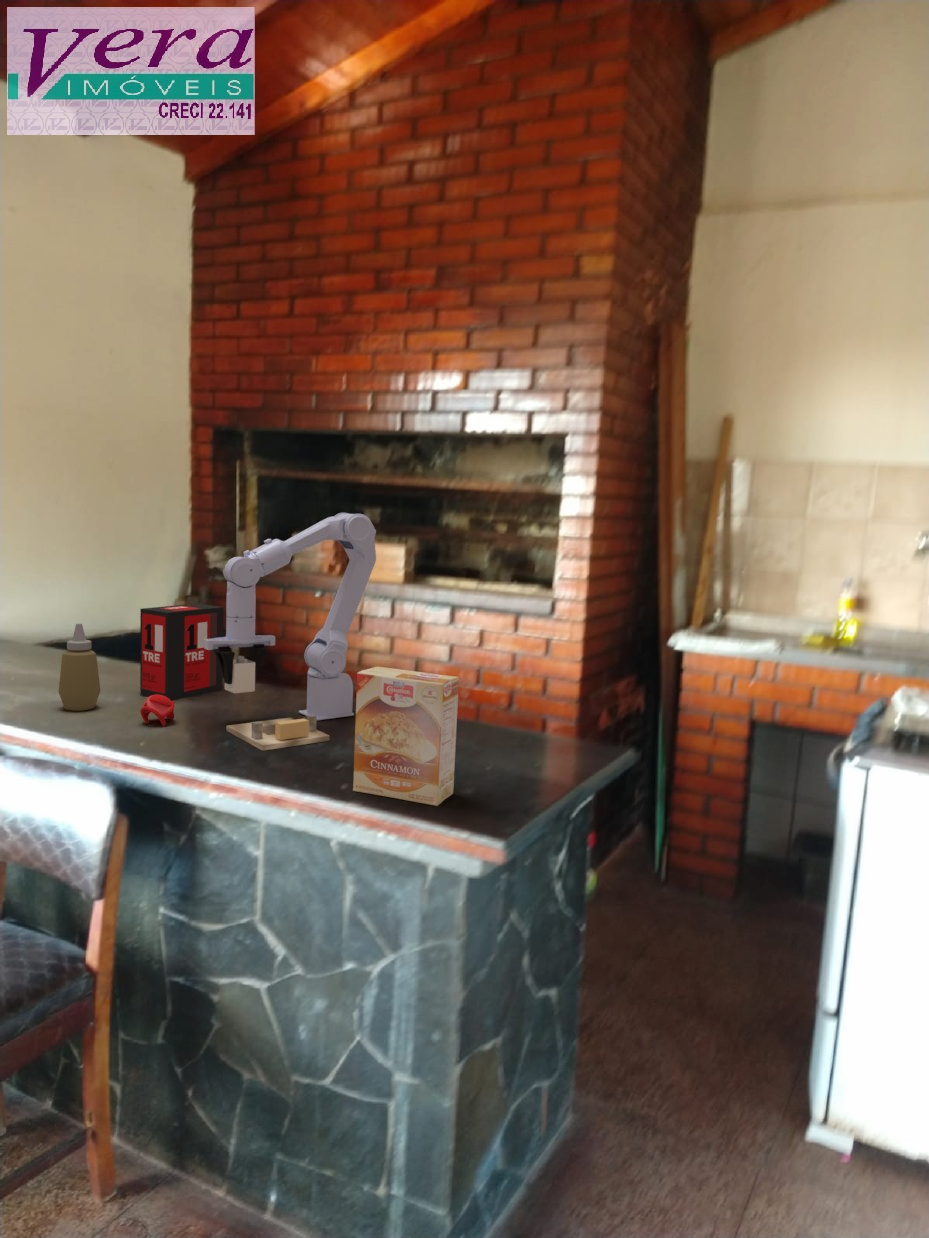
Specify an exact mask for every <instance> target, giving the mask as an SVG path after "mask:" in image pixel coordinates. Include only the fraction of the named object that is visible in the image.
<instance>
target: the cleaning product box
mask: <svg viewBox="0 0 929 1238" xmlns="http://www.w3.org/2000/svg"><path fill="white" fill-rule="evenodd" d="M224 608H225V607H224V606H218V605H210V604H203V603H189V604H178V605H167V606H157V607H145V608H143V607H142V608H140V616H139V617H140V620H139V621H140V627H139V628H140V629H139V630H140V631H139V632H140V633H139V635H140V636H139V637H140V642H139V643H140V645H139V646H140V650H139V651H140V653H139V654H140V658H139V659H140V661H139V664H140V665H139V666H140V667H139V668H140V669H139V670H140V679H139V681H140V682H139V683H140V687H139V688H140V690H139V691H140V696H141V697H145V698H148V697H149V696H151V695H163V696H165V697H167V698H169V699H170V700H171V701H172V702H174V701H178V700H180V699H187V698H191V697H195V696H200V695H205V694H209V693H215V692H221V691H223V689H224V688H223V684H224V683H223V682H224V681H223V680H224V677H223V673H222V669H221V666H220V664H219V661H218V659H217V657H216V655H215V653H214V651H213V650H207V649H204V639H212V638H219V637H224V613H225V612H224Z"/></svg>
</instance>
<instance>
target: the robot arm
mask: <svg viewBox="0 0 929 1238" xmlns="http://www.w3.org/2000/svg"><path fill="white" fill-rule="evenodd" d="M376 533H377V530H376V529H375V526H374V524H373V523H372V521H371V519H370V517H368V516H367V515H366V514H362V513H348V512H339V513H337V514H335V515H334V516H328V517H327V518H324V519H322V520H320V521H319V522H317V523H315V524H313V525H311V526H309V527H308V528H306V529H304V530H302V531H301V532H299V533H297V534H295V535H293V536H292V537H289V538H288V539H286V540H281V539H279V538H274V539H272V538H267V539H265V540H263V543H264V544H262V545H260V546H258V547H256V548H254V549H252V550H249V549H247V550H245V551H243V556H234V557H232V558H230V559H229V560H228V561H227V562H226V564H225V566H224V569H223V570H222V574H223V576H224V578H225V580H226V585H227V586H226V602H225V605H226V609H225V610H226V612H225V613H226V614H225V616H226V617H225V619H226V621H225V622H226V623H225V630H226V631H225V636H223V637H219V638H212V639H204V649H207V650H213V651H214V653H215V655H216V657H217V659H218V661H219V664H220V666H221V669H222V673H223V680H224V681H223V682H224V683H223V684H225V683H227V684H232V666H233V660H235V654H236V653H235V651H232V649H235V648H245V651H246V659H248V660H250V661H253V662H255V681H256V680H257V679H256V678H257V675H258V671H259V669H260V666H261V663H262V662H263V660H264V658H265V656H266V654H267V653H268V648H267V647H265V646H270V647H273V646H276V636H275V635H272V634H268V635H267V634H266V635H261V634H260V635H258V634H257V635H256V602H257V601H256V600H257V597H256V596H257V594H256V584H257V583H258V582H259V580H260V579H261V578H263V577H265V576H267V575H269V574H271V573H273V572H275V571H277V570H279V569H281V568H283V567H285V566H287V565H289V564H290V562H291V559H292V556H293V555H295V554H298V553H299V552H303V551H304V550H306V549H308V548H310V547H313V546H315V545H318V544H319V543H322V542H323V541H327V540H328V541H329V540H330V541H336V542H338V543H339V545H341V546H342V547H343V549H344V551H345V553H346V556H347V557H348V560H349V561H348V563H347V566H346V569H345V571H344V573H343V576H342V579H341V581H340V584H339V587H338V589H337V592H336V595H335V597H334V599H333V602H332V603H331V607H330V610H329V612H328V615H327V617H326V620H325V622H324V624H323V627H322V628H321V629H320V630H318V632H317V633H316V634H315V636H314V639H313V640H312V641H311V642H310V643H309V645H307V647H306V648H305V651H304V654H303V657H304V661H305V663H306V665H307V666H308V670H307V684H306V685H307V686H306V687H307V688H306V709H301V710H298V713H299V714H301V715H304V716H305V717H306V715H312V714H313V715H316V716H317V721H322V720H323V721H324V720H330V719H336V718H337V719H338V718H339V719H340V718H344V717H352V716H353V717H354V716H355V712H353V704H354V703H353V702H354V701H353V699H354V684H353V681H352V680H353V679H352V678H351V676H350V675H349V674H348V673H346V672H345V673H344V672H343V671H344V670H345V668H346V665H347V651H348V649H349V643H348V642H349V641H348V638H347V637H348V633H349V630H350V628H351V625H352V623H353V621H354V618H355V615H356V613H357V611H358V608H359V605H360V603H361V600H362V597H363V595H364V592H365V589H366V587H367V584H368V582H369V580H370V577H371V575H372V572H373V569H374V567H375V564H376V561H377V554H376V553H377V551H376V542H375V539H376V538H375V536H376Z"/></svg>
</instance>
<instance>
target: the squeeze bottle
mask: <svg viewBox="0 0 929 1238" xmlns="http://www.w3.org/2000/svg"><path fill="white" fill-rule="evenodd" d="M74 627H75V628H74V631H73V636H72V639H71V640H67V641H66V649H67V650H65V651H64V652H63V653H62V654H61V662H60V663H61V664H60V671H59V672H60V674H59V681H58V682H59V683H58V695H59V697H60V699H61V703H62V705H63V708H64V710H68V711H73V712H76V711H77V712H80V711H87V710H88V711H89V710H92V709H95V708H96V706H97V701H98V699H99V696H100V693H101V684H100V682H101V681H100V674H99V667H98V658H97V657H98V656H97V653H96V652H95V651H94V650H92V640H90V639H89V640H88V639H86V634H85V631H84V626H83V624H82V623H75V626H74Z"/></svg>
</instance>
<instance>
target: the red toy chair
mask: <svg viewBox="0 0 929 1238" xmlns="http://www.w3.org/2000/svg"><path fill="white" fill-rule="evenodd" d="M174 711H175V701H171V700H170V699H169V698H167V697H165V696H163V695H151V696H149V697H146V700H145V701H144V704H143V705H142V707H141V708H140V711H139V712H140V715H141V717H142V719H143V722H144V723H145V724H149V723H150V720H149V715H150V714H151V713H152V714H153V715H154V716H156V717H157V719H158V720H159V722H160V724H161V725H162V726H163V727H166V725H167V722H166V720H165V719H166V718H167V719H168V720H173V719H174V718H175V712H174Z"/></svg>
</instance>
